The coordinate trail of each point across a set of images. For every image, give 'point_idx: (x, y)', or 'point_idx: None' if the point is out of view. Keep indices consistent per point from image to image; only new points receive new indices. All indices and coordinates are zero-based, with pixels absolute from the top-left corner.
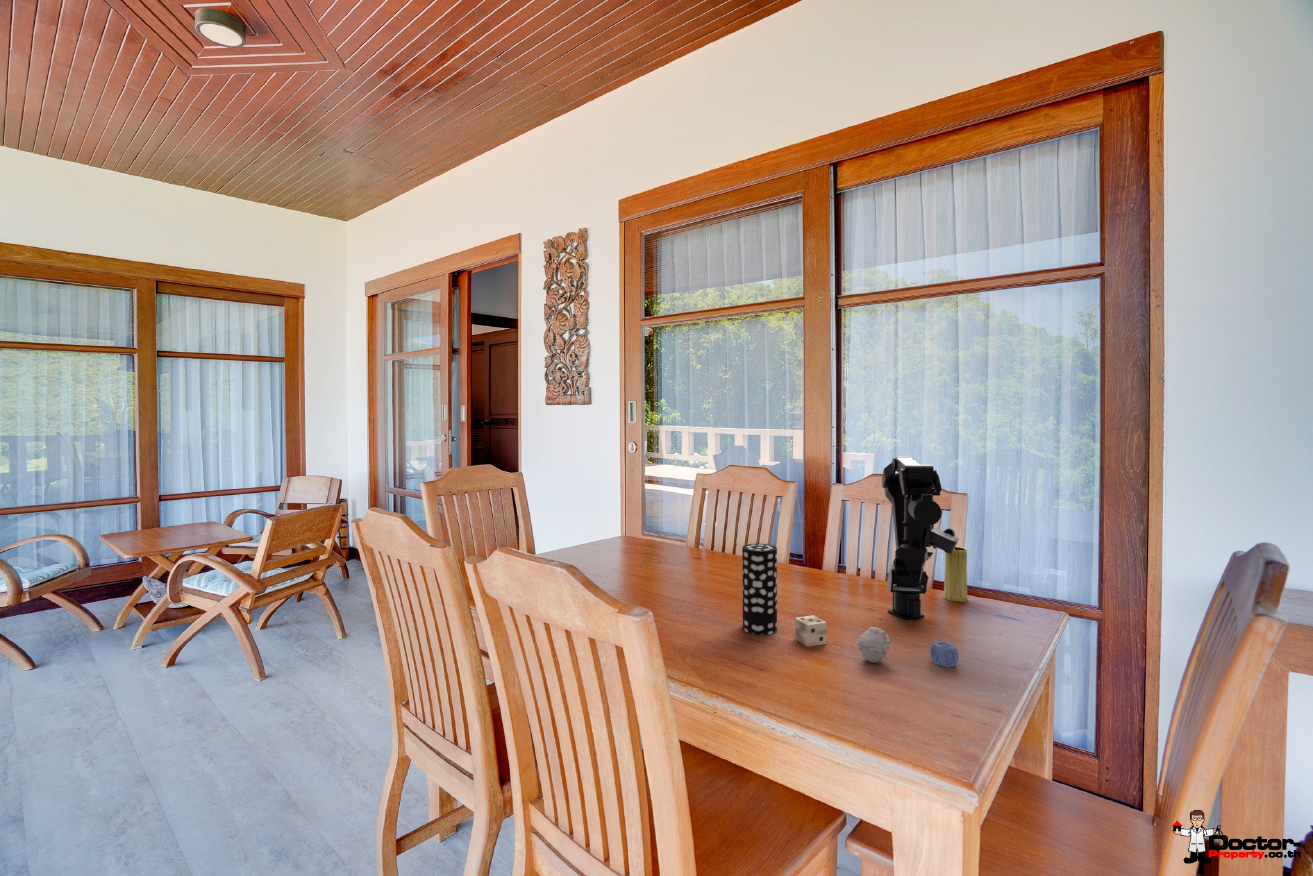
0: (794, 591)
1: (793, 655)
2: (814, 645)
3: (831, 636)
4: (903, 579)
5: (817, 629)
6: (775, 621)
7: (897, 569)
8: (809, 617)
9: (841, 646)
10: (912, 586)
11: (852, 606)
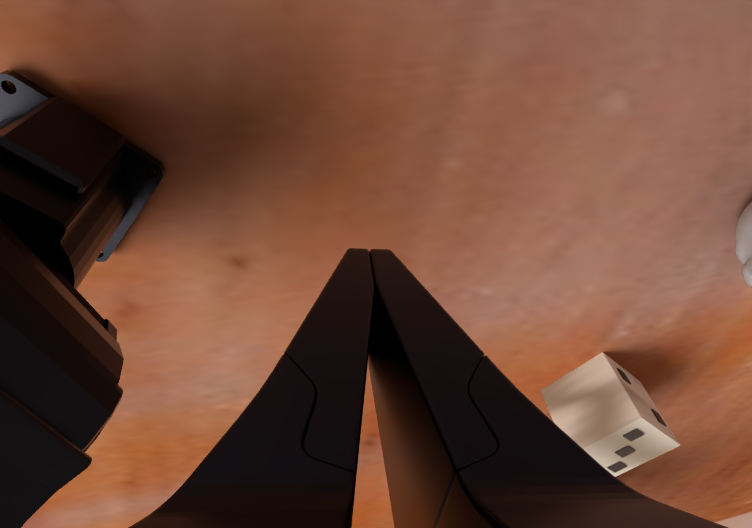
0: (139, 510)
1: (712, 389)
2: (627, 371)
3: (530, 354)
4: (83, 353)
5: (650, 412)
6: None
7: (75, 466)
8: (596, 458)
9: (620, 314)
10: (33, 254)
11: (149, 371)
